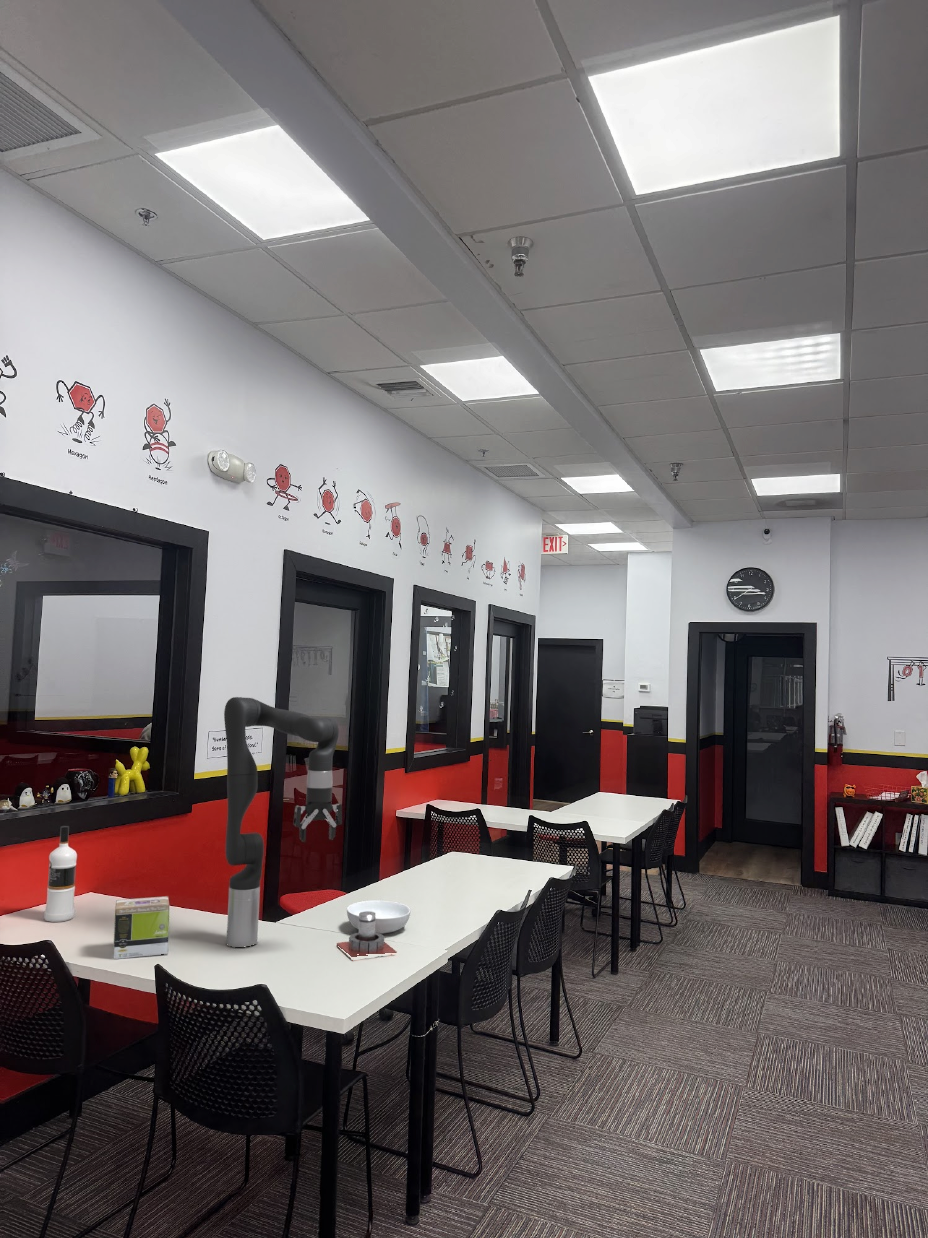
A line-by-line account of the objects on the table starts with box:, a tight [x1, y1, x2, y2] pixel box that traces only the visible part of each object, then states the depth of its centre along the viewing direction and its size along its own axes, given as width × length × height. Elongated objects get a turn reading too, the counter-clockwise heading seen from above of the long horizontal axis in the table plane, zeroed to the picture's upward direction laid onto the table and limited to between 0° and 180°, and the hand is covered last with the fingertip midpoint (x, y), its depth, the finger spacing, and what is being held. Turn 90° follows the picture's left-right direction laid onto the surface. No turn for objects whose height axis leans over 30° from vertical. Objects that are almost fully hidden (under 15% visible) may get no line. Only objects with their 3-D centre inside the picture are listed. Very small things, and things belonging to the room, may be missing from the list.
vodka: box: [43, 825, 78, 923], centre depth 282 cm, size 9×9×30 cm
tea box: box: [113, 895, 170, 960], centre depth 252 cm, size 15×10×15 cm
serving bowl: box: [346, 899, 411, 935], centre depth 281 cm, size 21×21×7 cm
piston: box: [358, 911, 376, 941], centre depth 260 cm, size 5×5×10 cm
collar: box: [336, 932, 398, 957], centre depth 260 cm, size 14×14×4 cm
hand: (317, 840), depth 254 cm, fingers open, 8 cm apart
